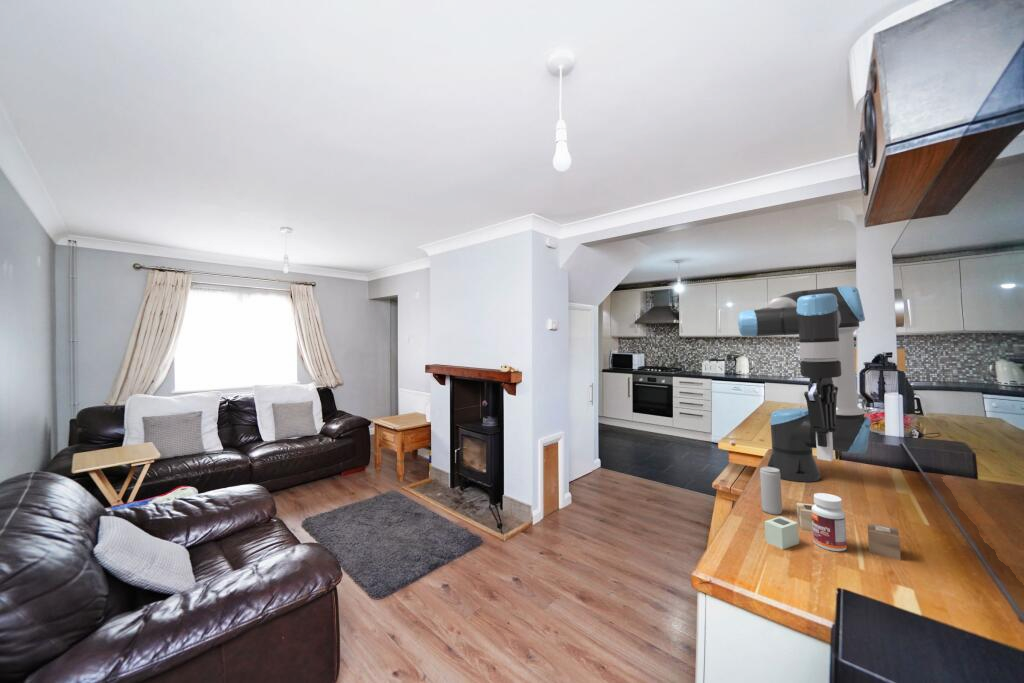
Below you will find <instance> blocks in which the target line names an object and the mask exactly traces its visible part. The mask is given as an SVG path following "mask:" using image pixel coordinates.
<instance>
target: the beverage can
mask: <svg viewBox="0 0 1024 683" xmlns="http://www.w3.org/2000/svg"><path fill="white" fill-rule="evenodd" d="M779 471H780V470H779V469H777V468H773V467H767V466H761V467H760V469H759V478H760V495H761V496H760V497H761V509H762V511H763V512H764V513H766V514H769V515H774V516H778V515H779V516H780V515H781V514H782V513H783V500H782V499H783V498H782V480H781V477H780V472H779Z"/></svg>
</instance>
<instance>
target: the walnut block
mask: <svg viewBox="0 0 1024 683" xmlns="http://www.w3.org/2000/svg"><path fill="white" fill-rule="evenodd" d="M866 525H867V540H868V541H867V542H868V553H869V554H872V555H878V556H880V557H881V556H882V557H884V558H885V557H886V558H890V559H894V560H897V561H901V559H902V558H901V556H902V555H901V543H900V542H901V539H900V534H899V530H898V528H897V527H896V528H895V527H892V526H887V525H882V524H881V525H880V524H876V523H872V522H867V524H866Z"/></svg>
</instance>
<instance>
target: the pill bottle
mask: <svg viewBox="0 0 1024 683" xmlns="http://www.w3.org/2000/svg"><path fill="white" fill-rule="evenodd" d="M813 503H814V504H812V505H813V506H812V531H811V532H812V541H813V543H814V544H815V545H816V546H818V547H820V548H822V549H824V550H828V551H833V552H844V551H845V550H847V546H848V545H847V543H848V542H847V526H846V514H845V511H844V509H842V508H843V500H842V498H841V497H839V496H838V495H835V494H832V493H831V494H830V493H824V492H817V493H816V492H815V493H814V494H813Z"/></svg>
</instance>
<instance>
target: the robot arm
mask: <svg viewBox="0 0 1024 683" xmlns="http://www.w3.org/2000/svg"><path fill="white" fill-rule="evenodd" d="M737 319H738V320H737V325H738V331H739V333H740V335H741V336H743V337H753V338H756V337H769V336H771V337H772V336H791V335H792V336H795V335H796V336H797V335H798V343H799V345H798V346H796V348H797V350H798V351H799V358H800V359H802V360H801V361H800V362H799V366H800V376H802V377H806V378H809V381H808V382H809V383H808V386H807V389H808V390H807V391H805V392H804V393H803V396H804V399H805V401H806V406H807V408H802V407H794V408H793V407H792V408H789V407H788V408H783V409H782V408H781V409H776V410H773V411H772V412H771V413H770V423H769V425H770V432H771V433H770V434H771V435H770V436H771V454H770V456H769V459H768V462H767V465H766V467H773V468H777V469H779V470H780V471H779V472H780V477H781V479H782V480H787V481H792V482H798V483H800V482H801V483H803V482H804V483H813V482H817V481H820V480H821V472H820V469H819V467H818V465H817V462H816V460H815V457H814V455H813V449H816V459H818V460H823V461H828V462H832V461H834V458H835V457H834V451H836V452H845V453H846V454H847V453H856V454H863V453H866V452H867V450H868V447H869V438H870V430H871V422H872V421H871V418H870V417H868V416H865V410H863V409H861V408H860V407H859V406H858V393H857V391H858V390H857V372H856V356H855V341H854V339H855V338H854V333H855V332H856V331H857V330H858V329H859V328H860V322H861V323H862V322H864V321H865V320H866V316H865V313H864V308H863V304H862V298H861V296H860V292H859V289H858V288H857V287H856V286H852V285H845V286H838V285H837V286H834V287H825V288H824V287H823V288H816V289H807V290H797V291H793V292H789V293H786V294H783V295H780V296H778V297H775V298H773V299H771V300H770V301H769V302H768V304H766V305H765V306H763V307H762V308H760V309H750V310H742V311H741V312H739V315H738V318H737Z"/></svg>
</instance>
